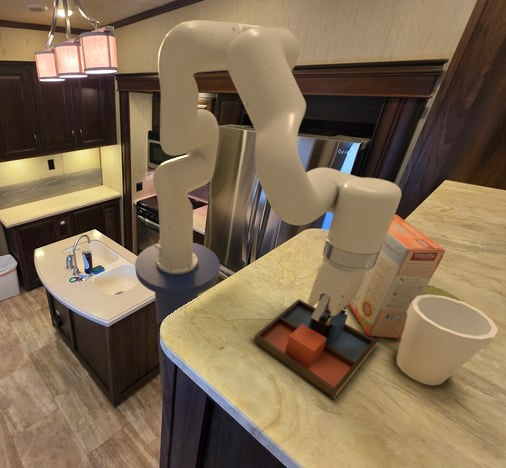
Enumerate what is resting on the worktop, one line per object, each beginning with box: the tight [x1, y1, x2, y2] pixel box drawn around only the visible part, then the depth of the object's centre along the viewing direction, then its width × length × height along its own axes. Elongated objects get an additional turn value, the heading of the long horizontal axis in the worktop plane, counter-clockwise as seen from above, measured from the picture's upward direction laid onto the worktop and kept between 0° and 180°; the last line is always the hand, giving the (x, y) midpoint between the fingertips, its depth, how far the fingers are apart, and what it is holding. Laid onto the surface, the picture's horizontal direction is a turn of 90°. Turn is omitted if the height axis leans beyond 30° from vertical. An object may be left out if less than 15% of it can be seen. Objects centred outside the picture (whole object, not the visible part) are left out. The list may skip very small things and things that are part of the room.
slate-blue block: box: [308, 307, 348, 343], centre depth 57 cm, size 4×4×4 cm
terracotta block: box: [285, 324, 327, 368], centre depth 53 cm, size 4×4×4 cm
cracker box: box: [348, 214, 447, 340], centre depth 58 cm, size 14×6×21 cm, turn 170°
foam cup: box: [395, 294, 499, 386], centre depth 48 cm, size 10×9×13 cm
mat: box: [423, 284, 461, 301], centre depth 63 cm, size 11×11×2 cm
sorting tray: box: [253, 298, 378, 400], centre depth 56 cm, size 15×16×2 cm
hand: (325, 327), depth 58 cm, fingers closed on slate-blue block, 4 cm apart
